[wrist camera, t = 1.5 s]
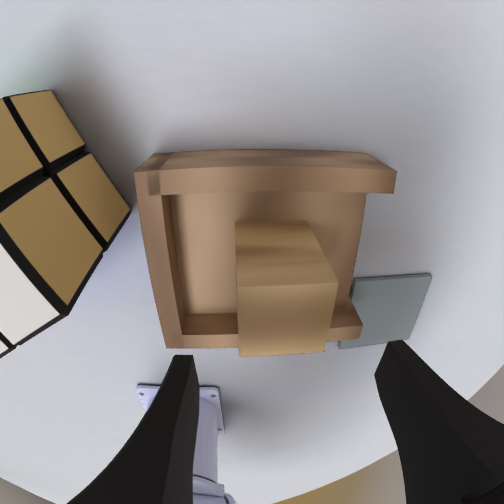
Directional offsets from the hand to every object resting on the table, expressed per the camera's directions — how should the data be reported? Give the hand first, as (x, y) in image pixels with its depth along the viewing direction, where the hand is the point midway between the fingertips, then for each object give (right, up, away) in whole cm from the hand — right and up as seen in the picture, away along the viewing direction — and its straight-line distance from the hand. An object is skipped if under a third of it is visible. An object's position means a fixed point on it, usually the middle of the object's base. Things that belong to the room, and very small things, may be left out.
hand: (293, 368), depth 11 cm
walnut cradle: (-1, +5, +9) cm, 11 cm away
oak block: (-1, +4, +7) cm, 9 cm away
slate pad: (+9, -1, +13) cm, 16 cm away
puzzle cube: (-16, +8, +7) cm, 19 cm away
